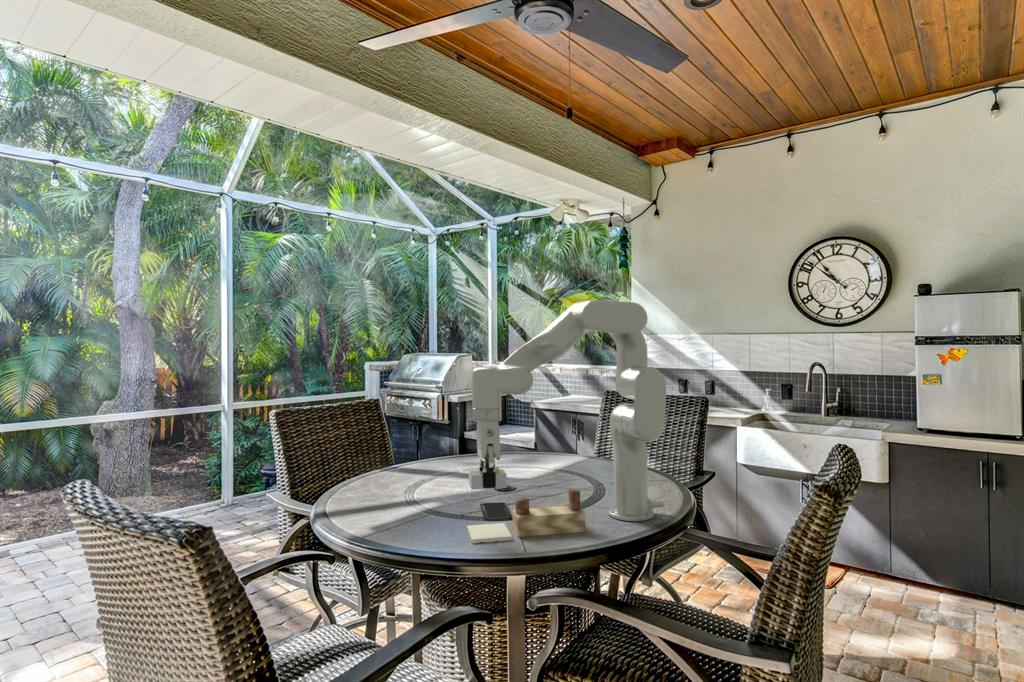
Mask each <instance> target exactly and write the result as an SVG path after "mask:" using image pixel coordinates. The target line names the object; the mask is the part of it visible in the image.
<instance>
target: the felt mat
mask: <svg viewBox="0 0 1024 682" xmlns="http://www.w3.org/2000/svg"><path fill="white" fill-rule="evenodd" d="M466 530H468V531H467V532H468V533H469V534H468V533H467V534H468V535H470V536H469V539H470V538H471V539H470V541H472V542H471V543H473V544H481V543H480V542H485V543H496V542H495V541H498V542H506V541H509V540H510V541H513V536H512V534H511V533H510V531H509V529H508V527H507V525H506V524H505V523H504V522H499V523H498V522H496V523H485V524H474V525H466ZM510 541H509V542H510ZM478 542H479V543H478Z"/></svg>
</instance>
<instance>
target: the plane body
mask: <svg viewBox="0 0 1024 682" xmlns="http://www.w3.org/2000/svg"><path fill="white" fill-rule="evenodd" d="M511 514H512V530H513V531H514V533H515V535H516V534H517V535H516V536H517V537H518V538H521V537H522V538H523V537H524V536H525V537H534V535H535V537H536V535H537V536H546V535H547V536H548V535H549V534H550V535H559V534H570V533H571V534H573V533H583V532H587V531H586V529H587V528H586V524H587V523H586V512H585V510H583V509H582V508H581V490H579V488H571V489H568V505H559V506H546V507H544V506H543V507H533V508H530V498H528V497H517V498H515V509H512V513H511Z"/></svg>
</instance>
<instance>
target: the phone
mask: <svg viewBox="0 0 1024 682" xmlns="http://www.w3.org/2000/svg"><path fill="white" fill-rule="evenodd" d="M479 507H481V508H480V510H482V511H481V514H482V513H483V514H482V517H483V516H484V517H483V520H484V519H485V520H484V521H486V520H493V521H503V520H502V519H509V520H512V519H513V514H512V513H511V511H510V509H509V507H508V504H507V503H506V502H505V501H504V502H502V501H501V502H482V503H480V505H479ZM511 518H512V519H511Z"/></svg>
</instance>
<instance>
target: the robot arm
mask: <svg viewBox="0 0 1024 682" xmlns="http://www.w3.org/2000/svg"><path fill="white" fill-rule="evenodd" d="M647 324H648V314H647V311H646V309H645V308H644V307H643V306H642V305H641V304H639V303H637V302H634V301H633V302H631V301H617V300H615V301H614V300H605V299H604V300H603V299H588V300H587V299H586V300H581V301H577V302H575V303H573V304H571V305H570V306H569V307H567V309H565V310H564V311H563V312H562V313H561V314H560V315H559V316H557V318H556V319H554V320H553V321H552V322H551V323H550V324H549V325H547V326H546V328H545V329H544V330H543V331H542V332H540V333H539V334H538V335H536V336H535V337H533V338H532V339H530V340H529V341H527V343H524V345H522V346H520V347H519V348H518V349H517V350H515V351H514V352H512V353H511V354H510V355H509V356H508V357H507V358H506V359H505V360H504V361H503V362H502V363H500V365H499V366H498V367H495V366H478V367H475V368H474V369H473V370H472V375H471V378H472V379H471V380H472V381H471V384H472V385H471V390H472V391H471V392H472V393H471V395H472V396H471V397H472V398H471V399H472V401H471V402H472V403H471V404H472V405H471V406H472V409H471V411H472V414H471V415H472V421H473V422H476V450H477V451H476V452H477V455H478V458H479V468H478V469H479V470H483V468H484V472H483V488H490V489H496V488H495V487H496V472H495V467H496V460H497V461H500V460H501V459H502V457H501V435H500V434H501V433H500V424H499V422H501V421H502V418H503V417H502V394H506V395H513V396H518V395H519V396H520V395H521V396H522V395H525V394H526V393H528V392H529V391H530V390H531V388H533V385H534V376H533V374H532V372H533V371H534V370H536V369H537V368H539V367H540V366H542V365H544V364H548V363H551V362H554V361H556V360H558V359H560V358H561V357H564V355H565V354H567V352H569V350H570V349H572V348H573V347H574V346H575V345H576V344H577V343H578V342H579V341H580V340H581V339H582V338H583V337H584V336H586V334H588V333H589V332H590V333H592V332H602V333H607V334H608V335H609V336H610V337H611V338H612V340H613V342H614V344H615V347H616V348H615V349H616V374H615V375H616V376H615V388H616V391H617V393H618V394H619V395H620V396H621V397H622V398H626V399H628V400H629V399H630V400H633V401H634V403H631V402H630V403H628V402H627V403H625V402H624V403H620V404H618V405H616V406H615V407H614V408H613V409H612V412H611V413H610V416H609V429H610V435H611V439H612V450H613V451H612V452H613V453H612V454H613V455H612V456H613V458H612V459H613V462H612V464H613V506H611V507H610V508H609V509H608V515H609V516H610V517H611V518H614V519H616V520H621V521H626V522H627V521H628V522H643V521H648V520H652V518H654V517H655V516H654V515H655V512H654V509H655V508H665V501H664V500H662V499H661V500H656V499H650V498H649V482H648V480H649V478H648V475H649V474H648V472H649V471H648V469H649V468H648V458H649V457H648V448H647V443H652V442H655V441H657V440H658V439H659V438H660V437H661V436H662V435H663V432H664V431H665V424H666V410H667V409H666V408H667V407H666V406H667V404H666V402H667V385H666V384H667V383H666V380H665V377H664V375H663V373H662V372H661V371H660V370H658V369H657V368H655V367H652V366H648V346H647V345H648V344H647V342H646V338H645V336H644V334H643V332H642V331H643V330H644V329H645V327H646V326H647ZM495 459H496V460H495Z"/></svg>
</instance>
